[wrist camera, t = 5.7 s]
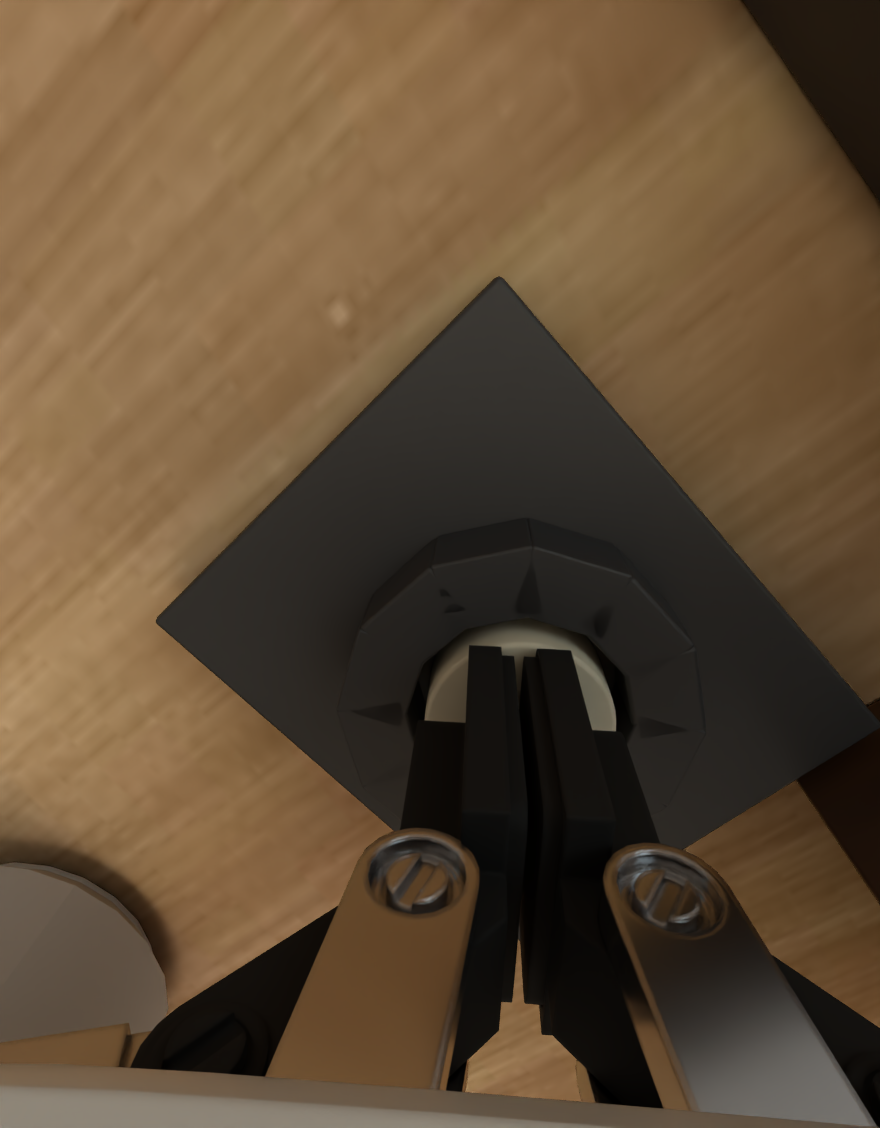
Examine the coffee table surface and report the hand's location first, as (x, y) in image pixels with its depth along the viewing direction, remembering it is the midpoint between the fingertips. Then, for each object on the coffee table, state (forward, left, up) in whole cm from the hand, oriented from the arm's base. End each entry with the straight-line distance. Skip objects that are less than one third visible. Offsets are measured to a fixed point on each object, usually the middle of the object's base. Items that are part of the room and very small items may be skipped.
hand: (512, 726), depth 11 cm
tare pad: (0, 0, -3) cm, 3 cm away
